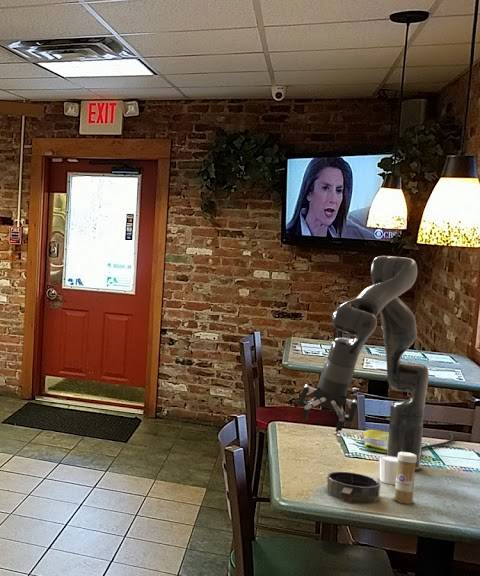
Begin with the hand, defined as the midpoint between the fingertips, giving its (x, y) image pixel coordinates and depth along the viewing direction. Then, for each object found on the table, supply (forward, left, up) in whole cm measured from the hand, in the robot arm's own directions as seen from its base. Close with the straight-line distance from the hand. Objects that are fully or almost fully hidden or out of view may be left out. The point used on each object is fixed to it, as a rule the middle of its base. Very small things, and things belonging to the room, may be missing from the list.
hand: (320, 425), depth 216 cm
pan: (-5, +9, -19) cm, 22 cm away
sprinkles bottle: (-9, +21, -20) cm, 30 cm away
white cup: (-26, +16, -20) cm, 36 cm away
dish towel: (-70, +11, -20) cm, 73 cm away
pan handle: (+5, +9, -19) cm, 22 cm away
